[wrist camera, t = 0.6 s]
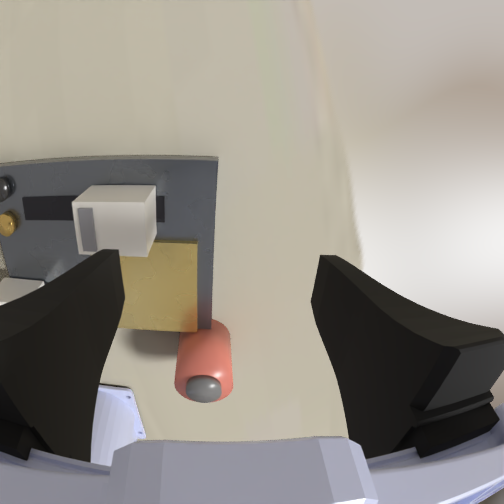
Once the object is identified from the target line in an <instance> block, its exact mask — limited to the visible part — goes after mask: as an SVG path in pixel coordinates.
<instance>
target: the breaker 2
mask: <svg viewBox="0 0 504 504" xmlns="http://www.w3.org/2000/svg"><path fill="white" fill-rule="evenodd" d="M72 208H73V216H74V224H75V231H76V238H77V245H78V251H79V254H86V255H93V254H94V253H96V252H98V251H100V250H102V249H119V256H133V257H148V254H149V251H150V249H151V246H152V244H153V241H154V239H155V236H156V234H157V226H156V185H92V186H90V187H89V188H88V189H87V190H86V191H84V192H83V193H82V194H81V195H80V196H78V197H77V198H76V199H75V200H74V201H73V202H72Z"/></svg>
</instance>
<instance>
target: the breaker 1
mask: <svg viewBox="0 0 504 504" xmlns="http://www.w3.org/2000/svg"><path fill="white" fill-rule="evenodd" d="M44 285H45V284H44V281H38V280H27V279H16V278H6V277H4V278H3V279H2V281H1V282H0V305H3V304H5V303H8V302H10V301H13V300H15V299H17V298H20V297H22V296H24V295H26V294H28V293H30V292H32V291H34V290H36V289H38V288H40V287H42V286H44Z"/></svg>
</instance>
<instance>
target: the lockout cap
mask: <svg viewBox="0 0 504 504" xmlns="http://www.w3.org/2000/svg"><path fill="white" fill-rule="evenodd" d="M175 388H176V390H177V391H178V393H179V394H181V395H182V396H183V397H185V398H187V399H189V400H192V401H196V402H201V403H208V402H215V401H219V400H221V399H223V398H225V397H227V396H228V395H229V394H230V393H231V391H232V389H233V376H232V360H231V344H230V333H229V331H228V329H227V328H226V327H225V326H224V325H223V324H222V323H220V322H218V321H216V320H213V319H212V322H211V329H198V330H197V332H180V337H179V345H178V354H177V363H176V372H175Z"/></svg>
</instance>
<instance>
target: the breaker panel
mask: <svg viewBox="0 0 504 504" xmlns="http://www.w3.org/2000/svg"><path fill="white" fill-rule="evenodd" d="M217 172H218V157H210V156H177V155H119V156H88V157H68V158H52V159H39V160H28V161H17V162H8V163H0V242H1V246H2V250H3V254H4V258H5V262H6V266H7V269H8V273H9V276H10V278H16V279H27V280H38V281H44V284H47V283H49V282H50V281H52V280H54V279H55V278H57V277H59V276H60V275H62V274H63V273H65V272H67V271H68V270H70V269H71V268H73V267H74V266H76V265H77V264H79V263H80V262H82V261H83V260H85V259H87V258H88V257H90V256H91V255H86V254H79V251H78V245H77V238H76V231H75V224H74V216H73V208H72V202H73V201H74V200H75V199H76V198H77V197H78V196H80V195H81V194H82V193H83V192H84V191H86V190H87V189H88V188H89V187H90V186H92V185H156V226H157V234H156V236H155V239H154V241H153V244H152V246H151V249H150V251H149V254H148V257H133V256H120V264H121V271H122V278H123V285H124V292H125V301H124V306H123V311H122V315H121V319H120V322H119V325H118V328H129V329H143V330H158V331H177V332H197V330H198V329H211V322H212V283H213V253H214V229H215V208H216V189H217Z"/></svg>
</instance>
